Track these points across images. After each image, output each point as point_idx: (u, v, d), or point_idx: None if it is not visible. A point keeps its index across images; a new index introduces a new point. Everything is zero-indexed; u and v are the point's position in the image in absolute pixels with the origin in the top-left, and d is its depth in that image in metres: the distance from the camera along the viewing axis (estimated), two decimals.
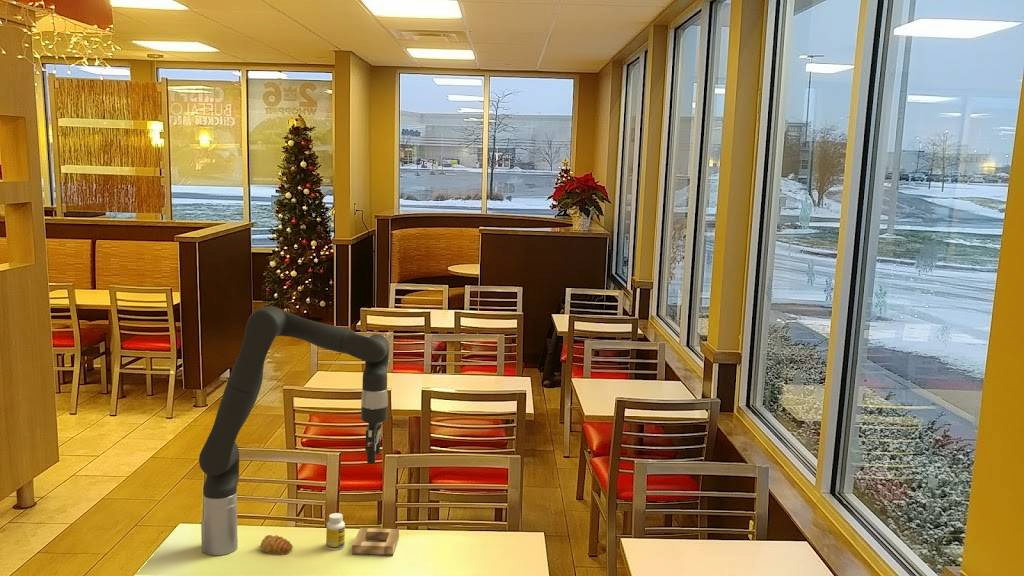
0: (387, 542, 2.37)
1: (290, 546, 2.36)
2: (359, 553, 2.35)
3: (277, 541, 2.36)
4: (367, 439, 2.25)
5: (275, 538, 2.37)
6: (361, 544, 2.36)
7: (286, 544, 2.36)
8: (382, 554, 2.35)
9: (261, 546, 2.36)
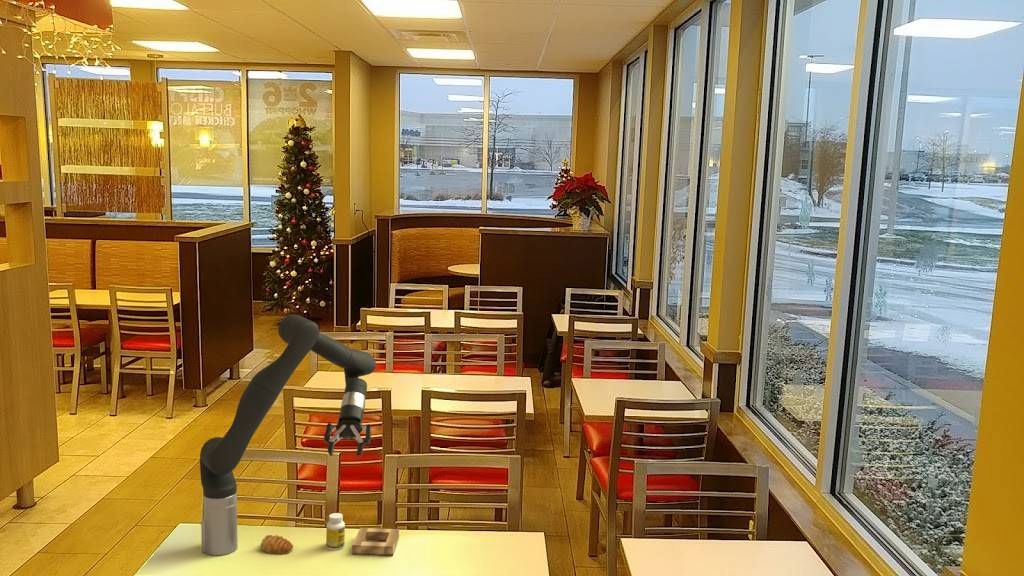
0: (387, 542, 2.37)
1: (290, 546, 2.36)
2: (359, 553, 2.35)
3: (277, 541, 2.36)
4: (370, 432, 2.53)
5: (275, 538, 2.37)
6: (361, 544, 2.36)
7: (286, 544, 2.36)
8: (382, 554, 2.35)
9: (261, 546, 2.36)
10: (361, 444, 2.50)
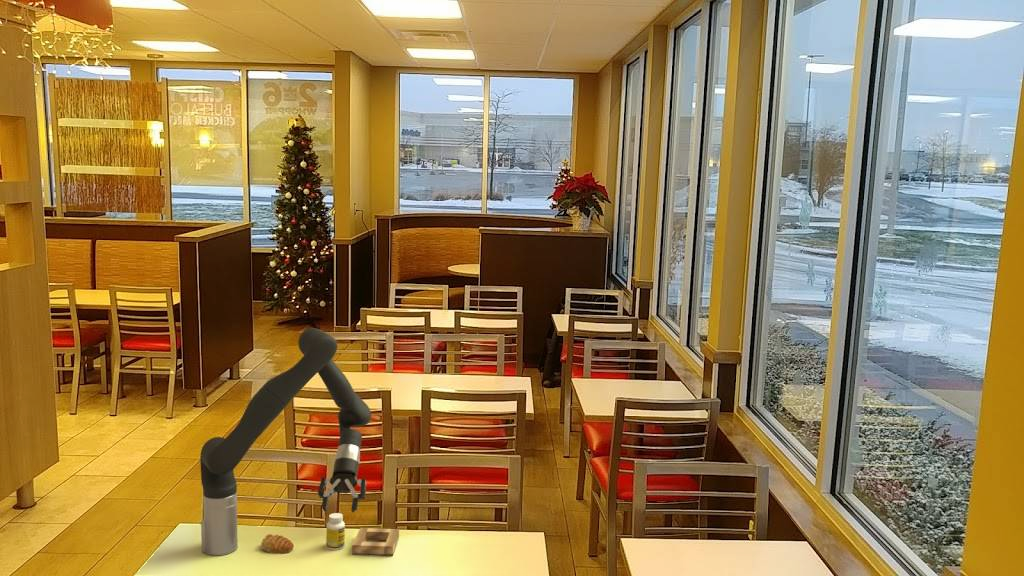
0: (387, 542, 2.37)
1: (291, 545, 2.37)
2: (359, 553, 2.35)
3: (278, 540, 2.37)
4: (365, 486, 2.48)
5: (276, 537, 2.38)
6: (361, 544, 2.36)
7: (287, 543, 2.37)
8: (382, 554, 2.35)
9: (262, 545, 2.36)
10: (356, 499, 2.45)
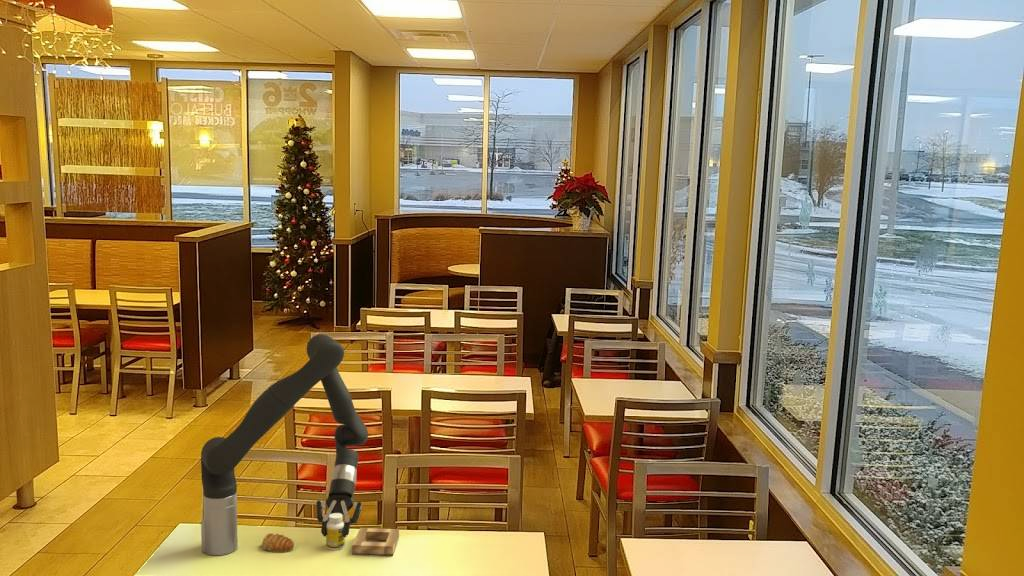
0: (387, 542, 2.37)
1: (292, 544, 2.37)
2: (359, 553, 2.35)
3: (279, 539, 2.37)
4: (359, 511, 2.42)
5: (276, 536, 2.38)
6: (361, 544, 2.36)
7: (288, 542, 2.37)
8: (382, 554, 2.35)
9: (263, 544, 2.37)
10: (347, 523, 2.40)
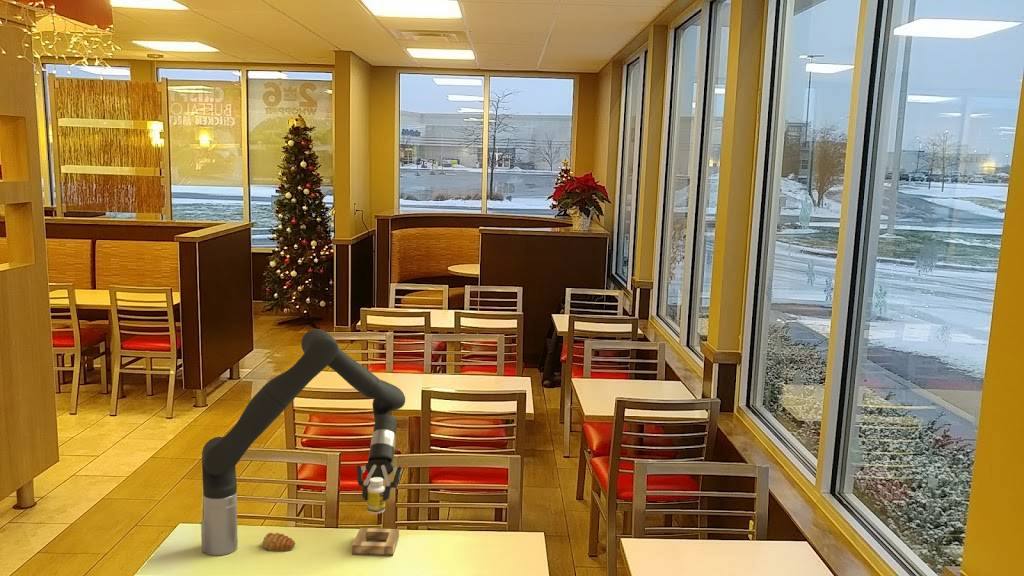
0: (387, 542, 2.37)
1: (293, 542, 2.38)
2: (359, 553, 2.35)
3: (279, 538, 2.38)
4: (399, 475, 2.42)
5: (277, 535, 2.39)
6: (361, 544, 2.36)
7: (289, 541, 2.38)
8: (382, 554, 2.35)
9: (263, 544, 2.37)
10: (388, 487, 2.39)
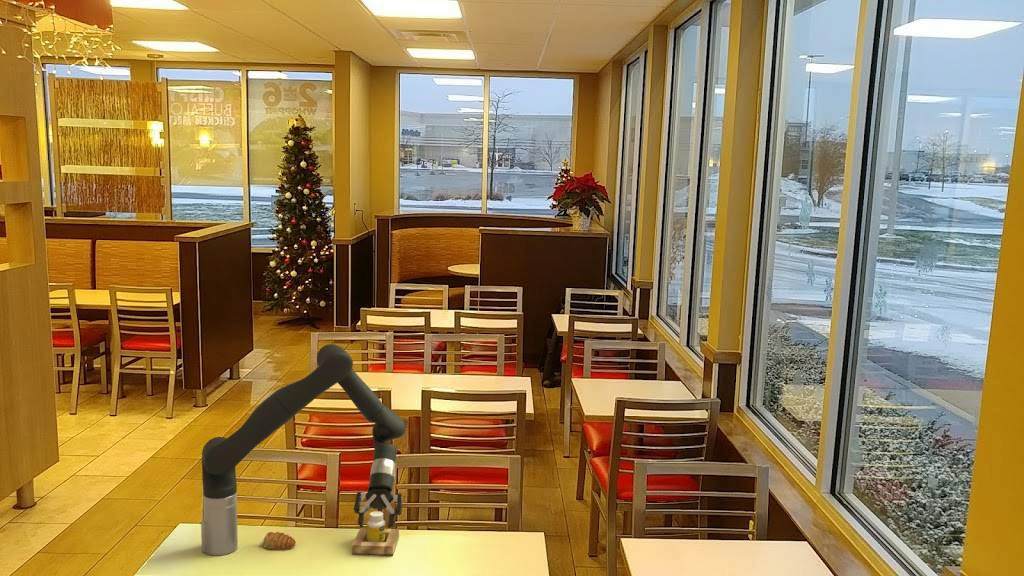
0: (387, 542, 2.37)
1: (294, 541, 2.39)
2: (359, 553, 2.35)
3: (280, 537, 2.39)
4: (401, 502, 2.43)
5: (277, 534, 2.40)
6: (361, 544, 2.36)
7: (290, 539, 2.39)
8: (382, 554, 2.35)
9: (264, 543, 2.38)
10: (392, 515, 2.41)
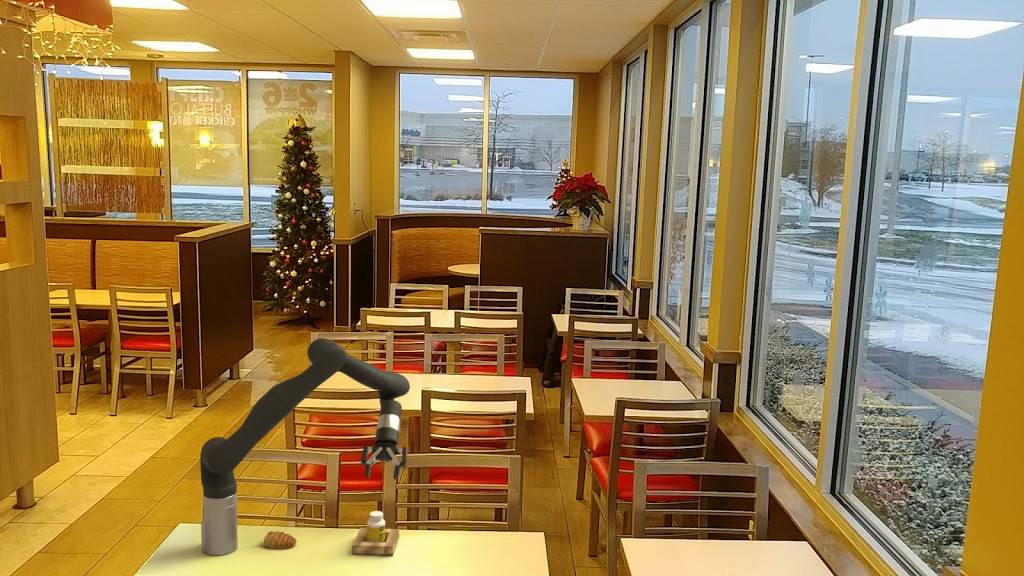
0: (387, 542, 2.37)
1: (294, 540, 2.40)
2: (359, 553, 2.35)
3: (281, 536, 2.39)
4: (406, 454, 2.55)
5: (278, 533, 2.40)
6: (361, 544, 2.36)
7: (290, 538, 2.39)
8: (382, 554, 2.35)
9: (265, 542, 2.38)
10: (398, 467, 2.52)
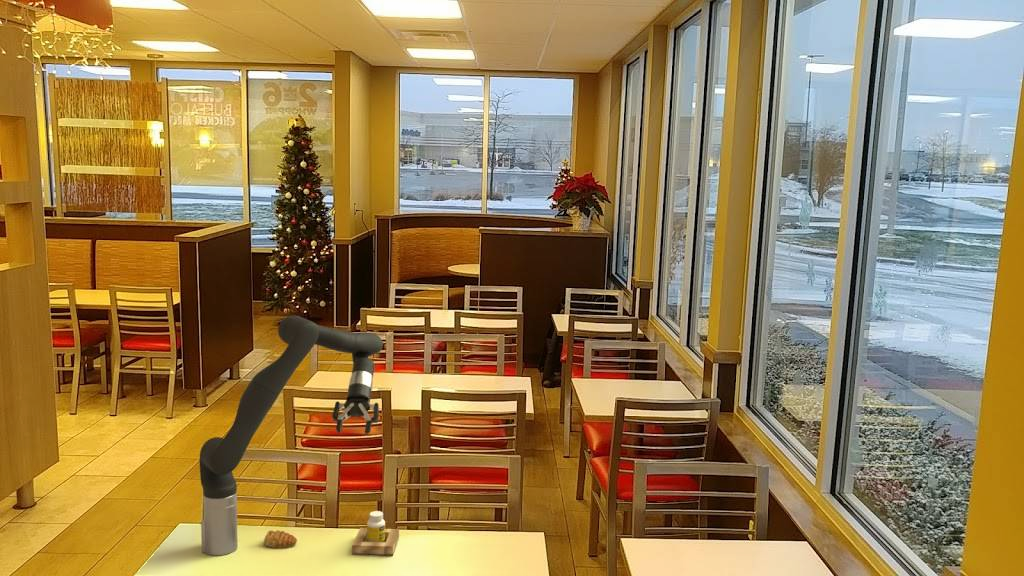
0: (387, 542, 2.37)
1: (295, 539, 2.40)
2: (359, 553, 2.35)
3: (281, 535, 2.40)
4: (377, 410, 2.55)
5: (278, 533, 2.41)
6: (361, 544, 2.36)
7: (291, 537, 2.40)
8: (382, 554, 2.35)
9: (265, 541, 2.39)
10: (369, 422, 2.53)
